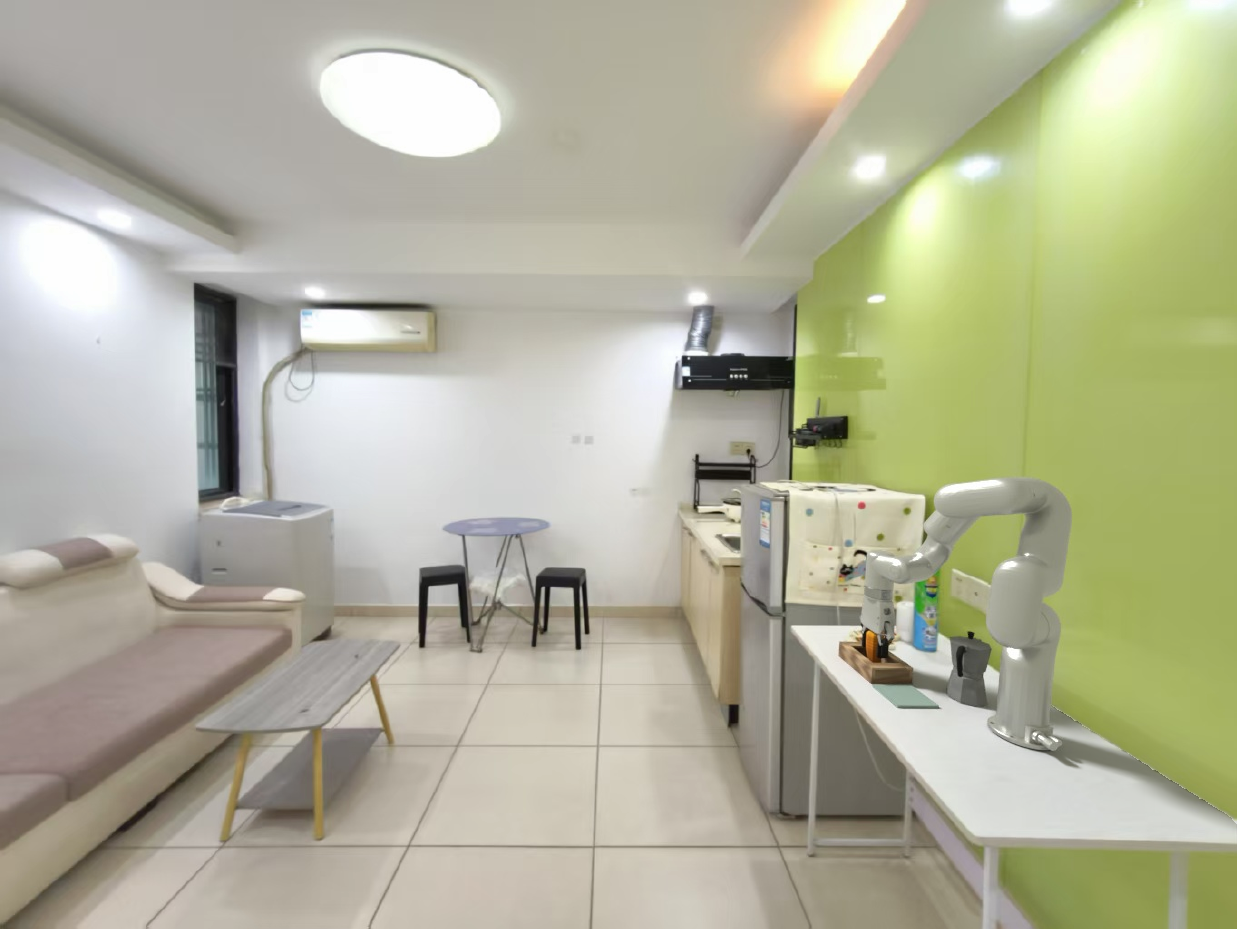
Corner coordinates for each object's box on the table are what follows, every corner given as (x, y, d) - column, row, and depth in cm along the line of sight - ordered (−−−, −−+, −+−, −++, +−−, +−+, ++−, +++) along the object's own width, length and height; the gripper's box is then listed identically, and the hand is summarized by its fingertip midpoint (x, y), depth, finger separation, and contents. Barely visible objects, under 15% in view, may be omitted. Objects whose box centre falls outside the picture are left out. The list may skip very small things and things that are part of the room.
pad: (938, 708, 127) (938, 705, 127) (897, 707, 126) (897, 705, 126) (910, 686, 138) (910, 684, 138) (872, 686, 137) (872, 684, 137)
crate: (912, 684, 140) (913, 668, 140) (871, 683, 139) (872, 667, 139) (875, 656, 158) (876, 642, 157) (838, 655, 157) (839, 641, 157)
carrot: (866, 664, 152) (869, 615, 151) (884, 669, 149) (887, 619, 148) (862, 669, 148) (865, 619, 147) (880, 674, 145) (884, 623, 144)
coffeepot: (954, 684, 141) (958, 621, 140) (994, 698, 134) (1000, 632, 133) (933, 700, 131) (938, 632, 130) (976, 716, 124) (981, 645, 123)
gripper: (909, 602, 139) (905, 665, 140) (873, 584, 156) (869, 640, 157) (883, 602, 138) (879, 665, 139) (850, 584, 156) (846, 640, 156)
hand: (874, 651), depth 148 cm, fingers open, 6 cm apart
